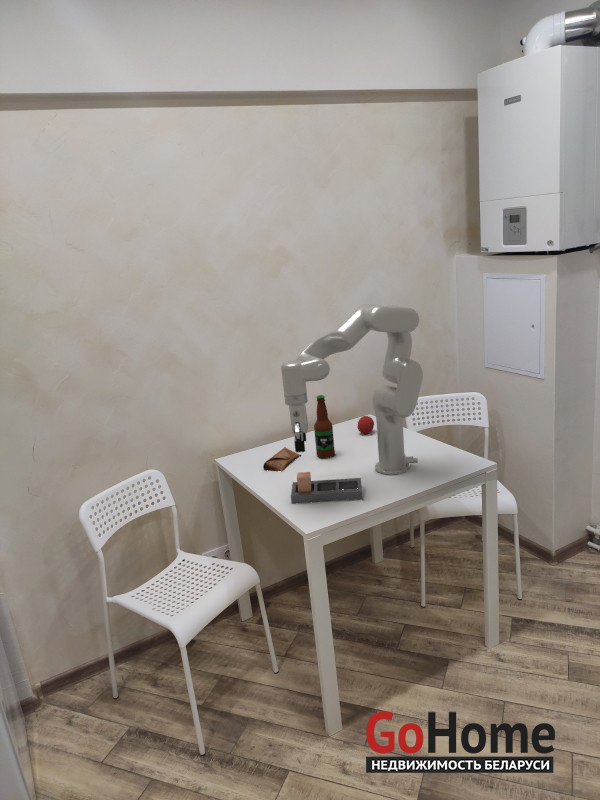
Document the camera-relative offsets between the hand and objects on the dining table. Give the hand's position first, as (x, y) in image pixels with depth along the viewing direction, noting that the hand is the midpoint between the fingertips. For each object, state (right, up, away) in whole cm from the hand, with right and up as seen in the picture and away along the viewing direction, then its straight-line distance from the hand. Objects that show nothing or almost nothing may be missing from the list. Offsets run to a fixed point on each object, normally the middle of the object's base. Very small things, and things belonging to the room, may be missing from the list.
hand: (301, 446), depth 206 cm
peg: (+2, -18, +5) cm, 18 cm away
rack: (+9, -17, +4) cm, 20 cm away
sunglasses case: (-7, -10, +37) cm, 38 cm away
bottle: (+10, -7, +39) cm, 41 cm away
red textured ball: (+28, +1, +60) cm, 66 cm away
